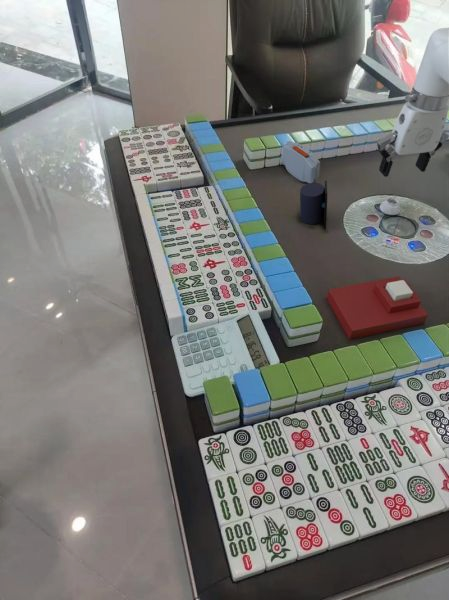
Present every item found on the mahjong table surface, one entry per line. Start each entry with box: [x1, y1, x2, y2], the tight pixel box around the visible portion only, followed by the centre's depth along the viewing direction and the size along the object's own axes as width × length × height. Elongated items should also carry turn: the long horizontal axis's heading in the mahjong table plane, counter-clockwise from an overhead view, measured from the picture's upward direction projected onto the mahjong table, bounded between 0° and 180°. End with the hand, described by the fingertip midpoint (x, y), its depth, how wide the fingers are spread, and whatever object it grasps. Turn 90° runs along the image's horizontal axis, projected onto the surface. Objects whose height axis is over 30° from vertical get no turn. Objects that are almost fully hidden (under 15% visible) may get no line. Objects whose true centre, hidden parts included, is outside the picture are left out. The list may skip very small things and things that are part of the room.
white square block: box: [385, 280, 413, 302], centre depth 85 cm, size 4×4×2 cm
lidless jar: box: [379, 196, 401, 216], centre depth 109 cm, size 5×3×5 cm
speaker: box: [299, 180, 328, 230], centre depth 104 cm, size 8×6×10 cm
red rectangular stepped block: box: [326, 275, 429, 340], centre depth 86 cm, size 16×11×4 cm
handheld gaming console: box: [280, 140, 321, 184], centre depth 118 cm, size 14×3×8 cm, turn 32°
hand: (401, 171), depth 102 cm, fingers open, 9 cm apart
